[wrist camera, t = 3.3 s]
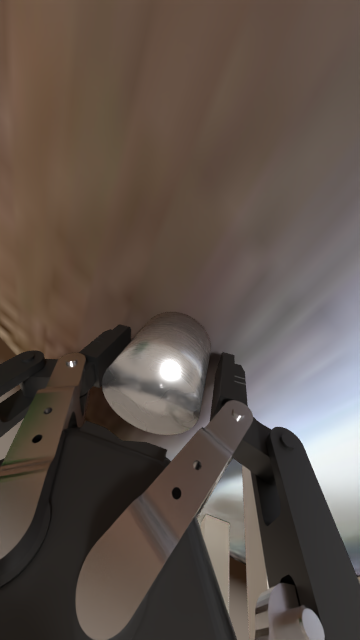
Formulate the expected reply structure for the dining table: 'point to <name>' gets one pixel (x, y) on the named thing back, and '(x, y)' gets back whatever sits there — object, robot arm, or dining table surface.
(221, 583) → the trapdoor stand
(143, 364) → the cylinder
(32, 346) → the dining table surface
